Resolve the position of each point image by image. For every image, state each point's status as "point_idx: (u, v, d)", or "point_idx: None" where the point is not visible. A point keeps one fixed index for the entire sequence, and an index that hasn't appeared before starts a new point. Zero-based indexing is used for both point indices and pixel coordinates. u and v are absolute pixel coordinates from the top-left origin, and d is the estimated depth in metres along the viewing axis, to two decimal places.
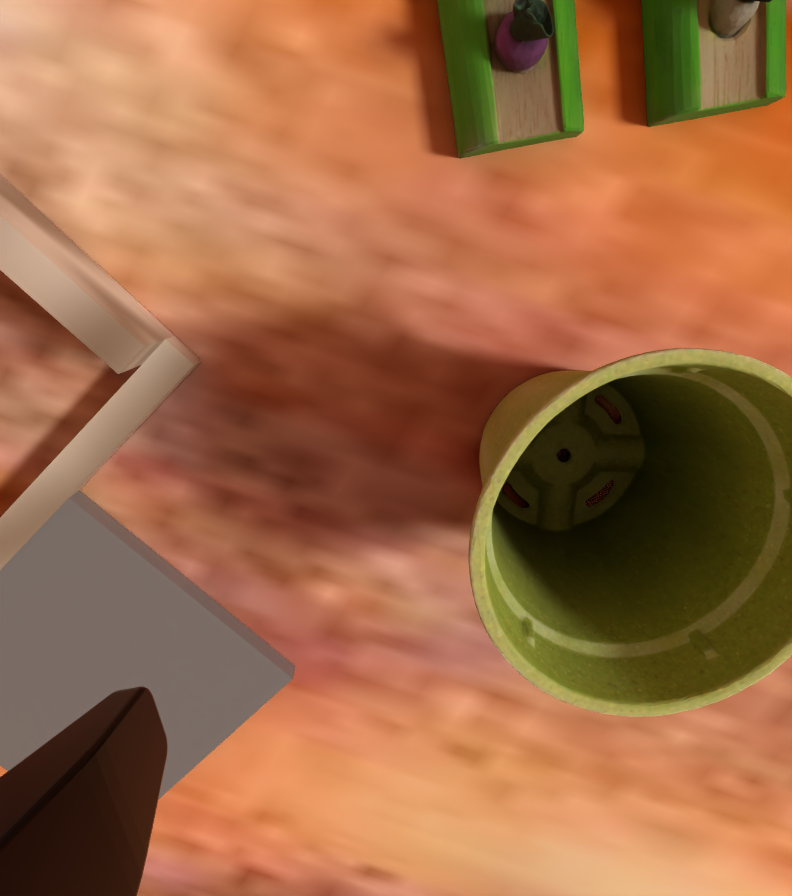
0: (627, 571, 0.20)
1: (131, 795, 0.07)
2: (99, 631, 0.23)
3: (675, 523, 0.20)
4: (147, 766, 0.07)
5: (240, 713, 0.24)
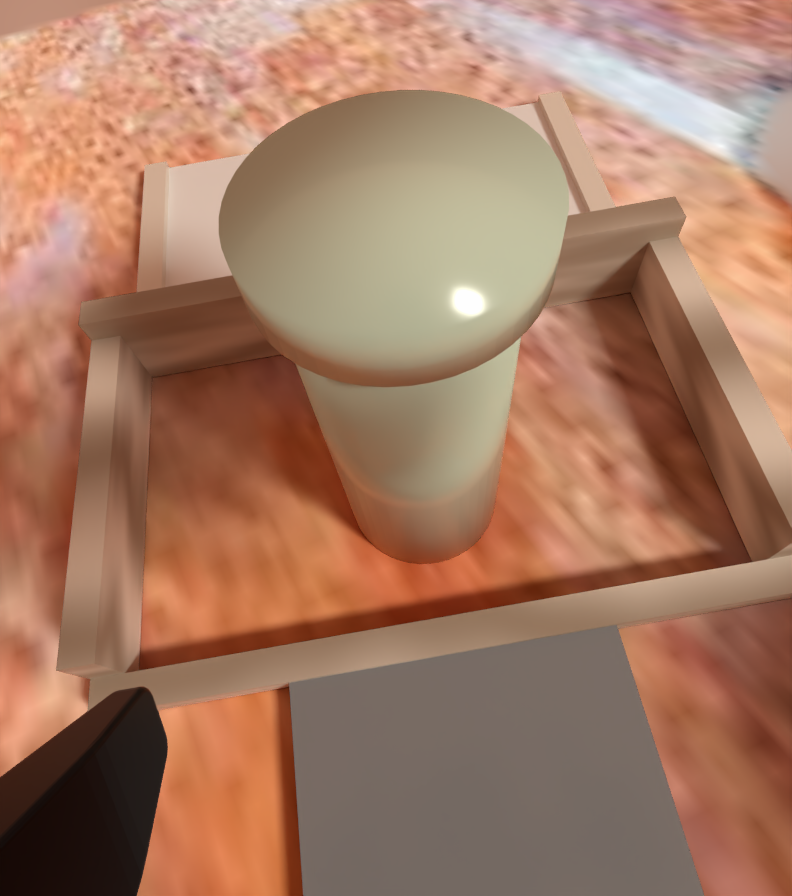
0: None
1: (131, 795, 0.07)
2: (546, 782, 0.18)
3: None
4: (147, 766, 0.07)
5: None
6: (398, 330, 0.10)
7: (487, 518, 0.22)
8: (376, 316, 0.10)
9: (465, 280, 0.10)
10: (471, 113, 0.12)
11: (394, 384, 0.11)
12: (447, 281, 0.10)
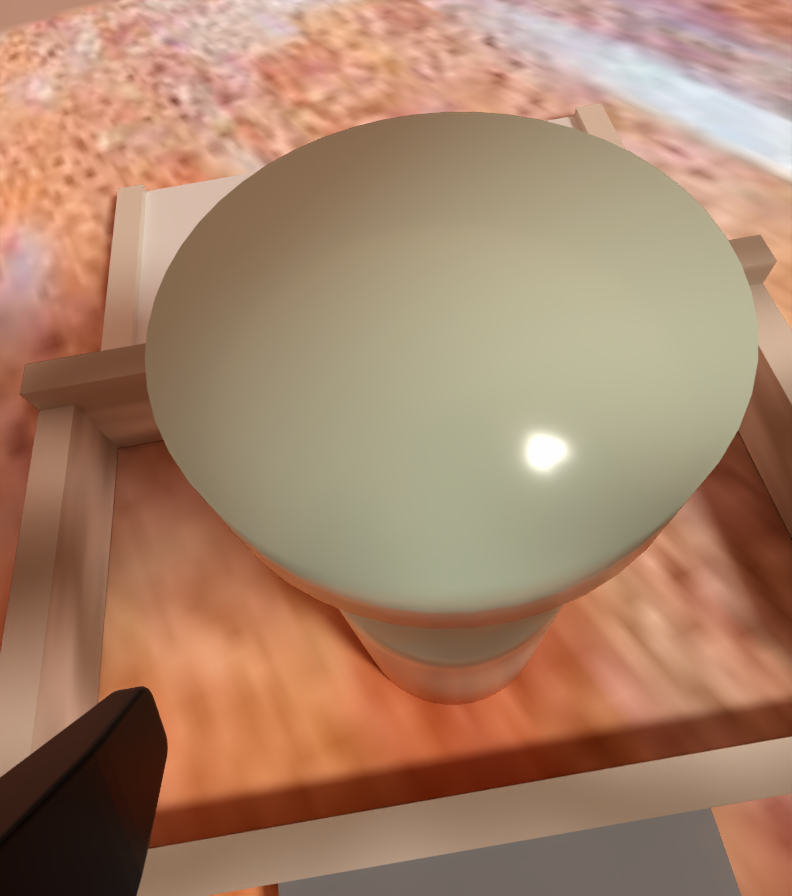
0: None
1: (131, 795, 0.07)
2: None
3: None
4: (147, 766, 0.07)
5: None
6: (467, 580, 0.05)
7: None
8: (421, 543, 0.05)
9: (587, 468, 0.06)
10: (563, 150, 0.08)
11: (446, 623, 0.07)
12: (553, 470, 0.06)
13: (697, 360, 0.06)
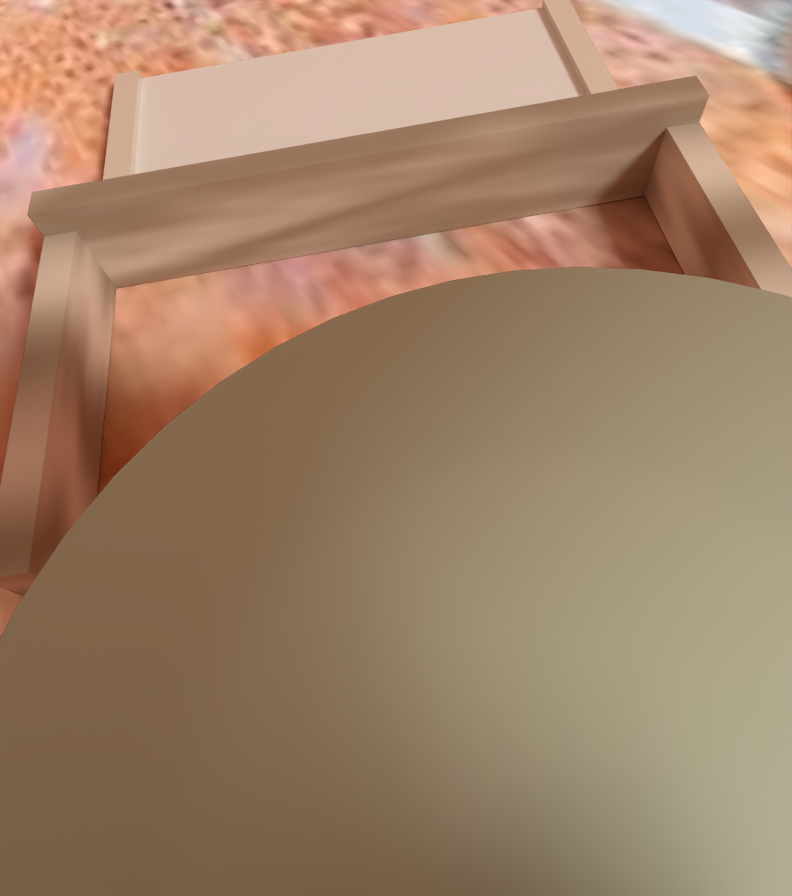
0: None
1: None
2: None
3: None
4: None
5: None
6: None
7: None
8: None
9: None
10: None
11: None
12: None
13: None
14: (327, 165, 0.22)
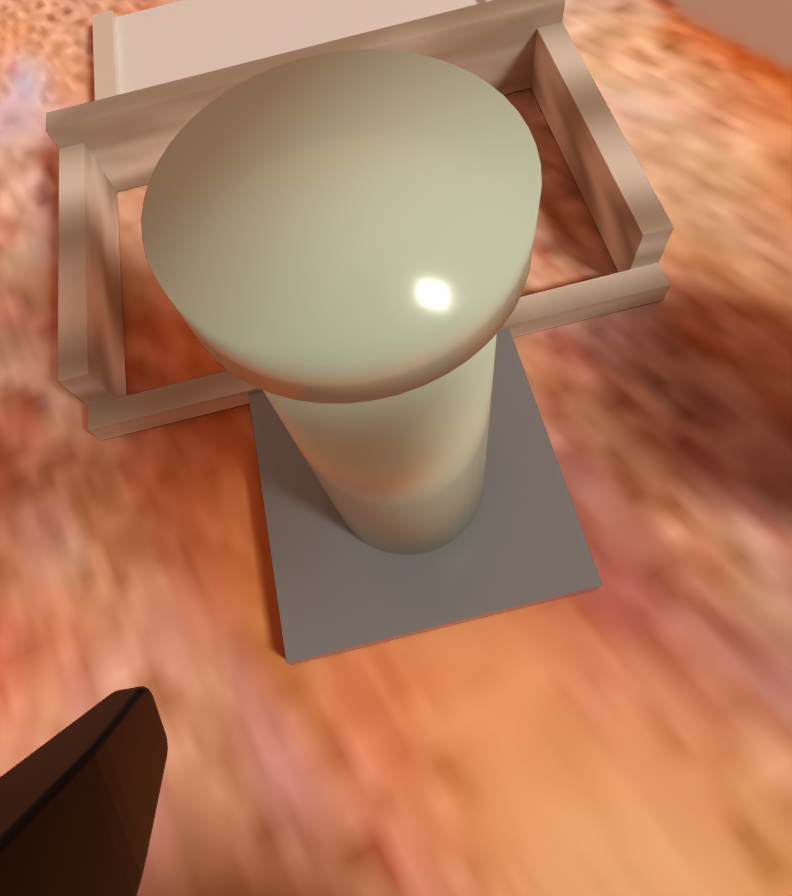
0: None
1: (131, 795, 0.07)
2: None
3: None
4: (147, 766, 0.07)
5: (523, 592, 0.21)
6: (353, 345, 0.09)
7: (476, 503, 0.21)
8: (327, 330, 0.09)
9: (427, 279, 0.09)
10: (424, 74, 0.11)
11: (357, 399, 0.10)
12: (406, 283, 0.09)
13: (501, 209, 0.09)
14: None
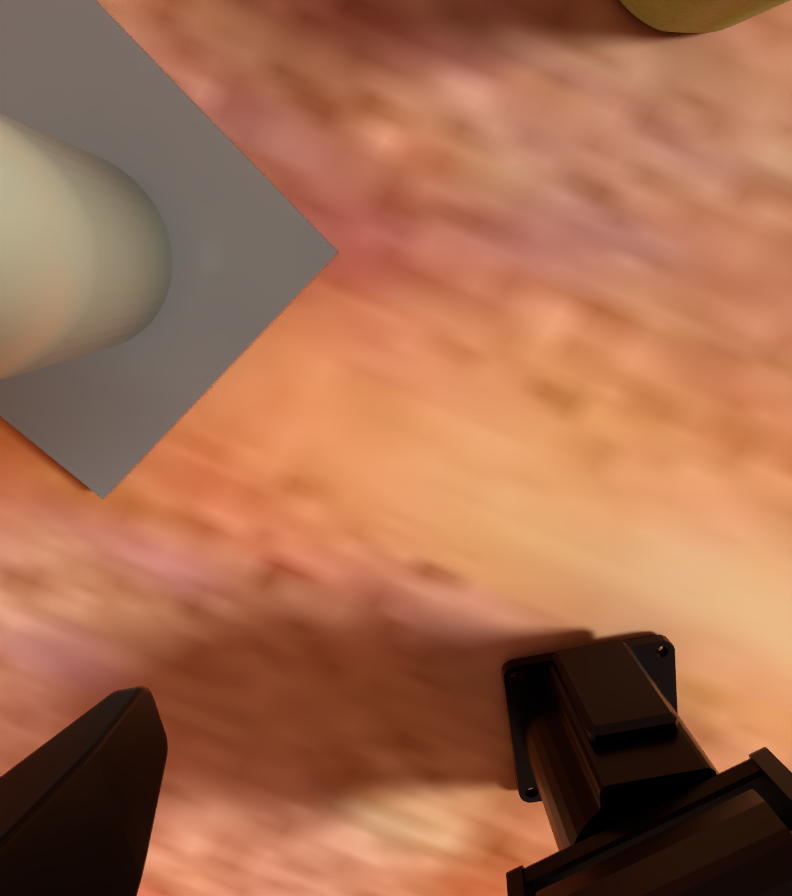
0: None
1: (131, 795, 0.07)
2: None
3: None
4: (147, 766, 0.07)
5: (267, 305, 0.18)
6: None
7: (158, 248, 0.17)
8: None
9: None
10: None
11: None
12: None
13: None
14: None
